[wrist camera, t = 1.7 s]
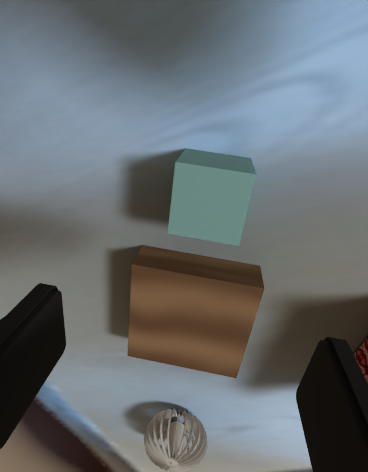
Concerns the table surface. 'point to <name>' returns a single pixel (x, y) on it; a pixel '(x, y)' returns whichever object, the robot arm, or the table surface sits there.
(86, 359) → the table surface
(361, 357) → the handbag
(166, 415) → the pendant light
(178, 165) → the teal block
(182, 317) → the walnut plinth
